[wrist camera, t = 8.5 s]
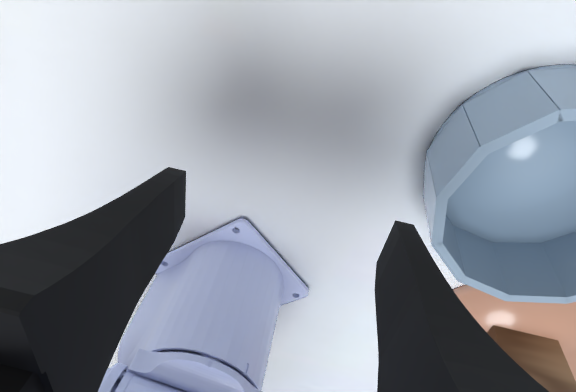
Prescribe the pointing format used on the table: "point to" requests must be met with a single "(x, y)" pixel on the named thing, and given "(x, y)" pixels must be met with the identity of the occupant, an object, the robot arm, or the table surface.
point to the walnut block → (537, 357)
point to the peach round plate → (525, 318)
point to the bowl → (509, 188)
